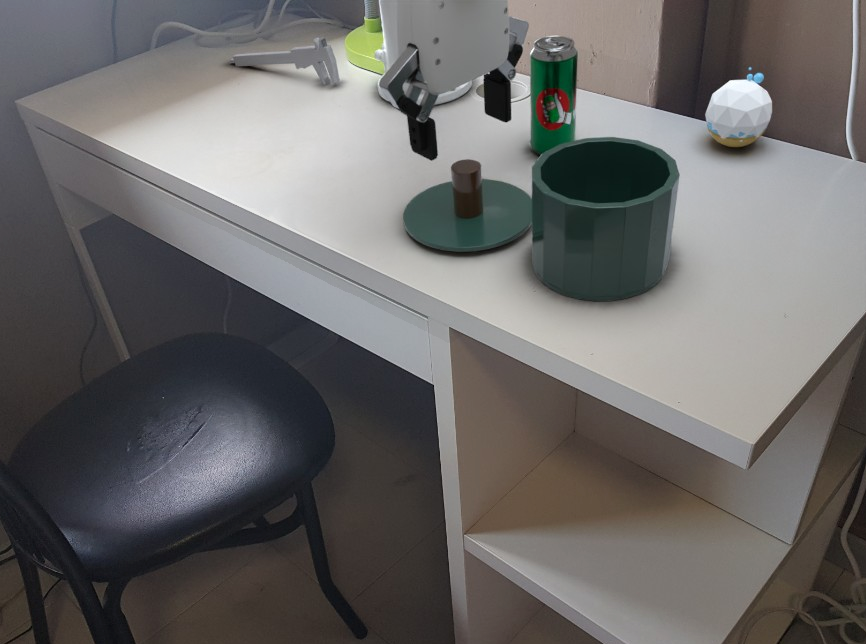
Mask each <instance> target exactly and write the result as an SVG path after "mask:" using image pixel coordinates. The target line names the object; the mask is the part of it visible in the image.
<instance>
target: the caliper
mask: <svg viewBox="0 0 866 644" xmlns="http://www.w3.org/2000/svg"><path fill="white" fill-rule="evenodd" d="M312 42H313V45H305V46H294V47H293V48H290V49H289V50H282V51H265V52H249V53H237V54H234V55H233V56H232V58H231V59H229V60H228V64H234V65H235V66H236V67H249V66H268V65H289V64H294V66H295V68H296V69H297V70H299V69H307V68H309V67H311V66H312V68H313V69H314V71H315V72H316V74H317V76H318V77H319V79H320V81H321V82H322V84H323V85H324V86H327V85H329V84H332V85H335V84H337V83H338V82H340V75H339V70H338V63H337V58H336V56H335V53H334V50H333V48H332V46H331V44H328V43H327V40H326V37H325V36H323V37H321V38H319V37H316V38H314V39H313V40H312Z"/></svg>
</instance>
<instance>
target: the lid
mask: <svg viewBox="0 0 866 644" xmlns="http://www.w3.org/2000/svg"><path fill="white" fill-rule="evenodd" d="M450 175H451V176H450V177H451V180H449V181H446V182H442V183H439V184H436V185H433V186H431V187H428V188H426V189H424V190H423V191H421V192H419V193H418V194H416V195H415V196H414V197H413V198H411V200H410V201H409V202H408V203H407V204H406V206H405V208H404V211H403V214H402V221H403V226H404V228H405V231H406V232H407V233H408V235H409V236H410V237H412V239H414V240H415V241H416V242H418V243H421V244H422V245H424V246H426V247H429V248H432V249H437V250H439V251H440V250H441V251H447V252H456V253H457V252H459V253H462V252H463V253H464V252H466V253H467V252H478V251H484V250H485V251H486V250H490V249H495V248H497V247H500V246H504V245H506V244H509V243H511V242H513V241H515V240H516V239H518V238H520V237H521V236H522V235H524V233H526V232H527V231H528V230H529V229H530V228H531V227H532V196H531V195H529V194H528V193H527V192H526V191H525V190H523V189H522V188H520V187H518V186H516V185H513V184H511V183H509V182H505V181H503V180H496V179H490V178H483V175H482V164H481V163H480V162H479V160H475V159H472V158H471V159H469V158H464V159H460V160H457V161H455V162H453V163H452V164H451V166H450Z"/></svg>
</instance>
